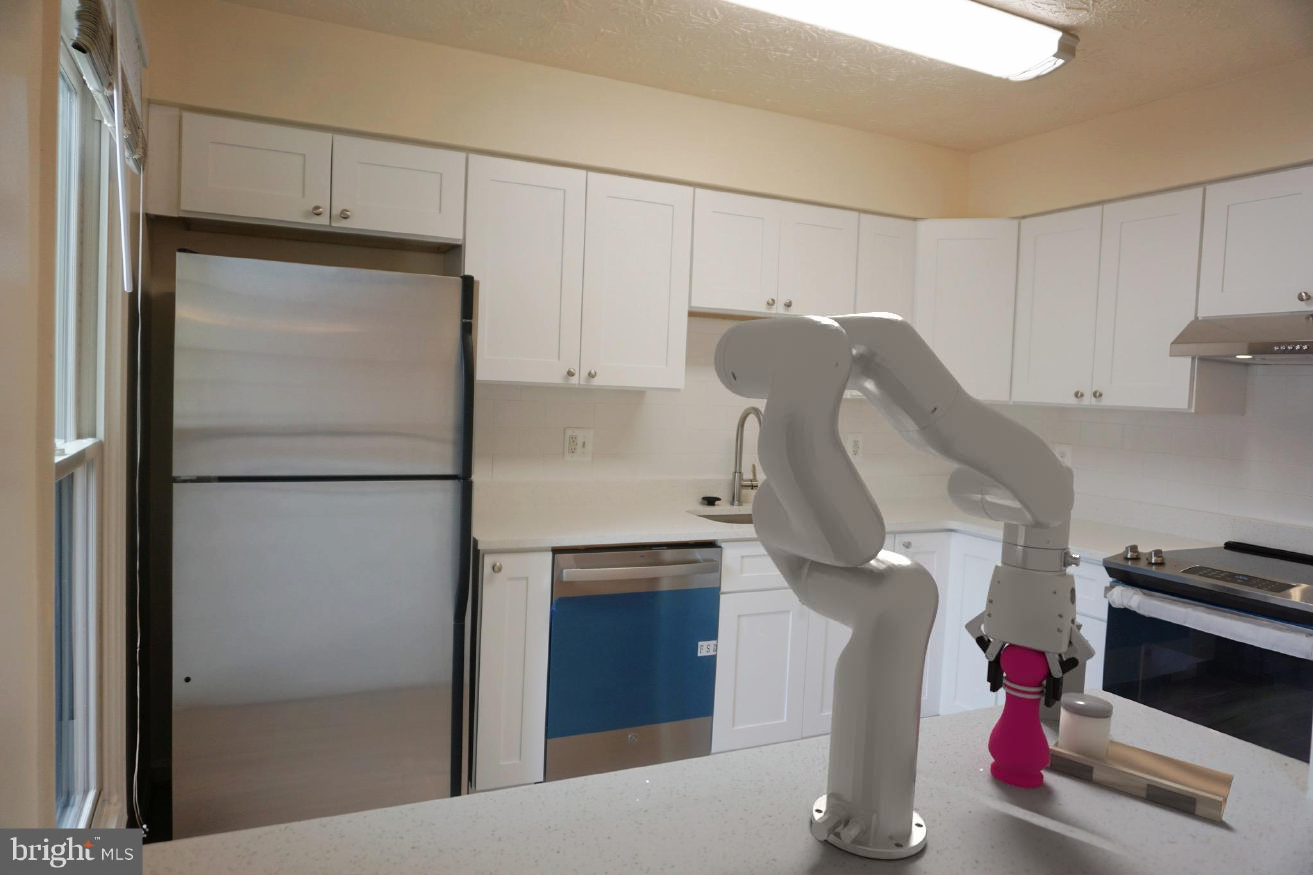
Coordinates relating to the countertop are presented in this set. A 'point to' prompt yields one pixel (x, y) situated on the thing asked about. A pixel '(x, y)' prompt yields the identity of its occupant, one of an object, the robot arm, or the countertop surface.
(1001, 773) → the pepper mill
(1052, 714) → the perfume bottle
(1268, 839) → the countertop surface
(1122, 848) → the countertop surface
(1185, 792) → the shelf
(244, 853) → the countertop surface
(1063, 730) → the jar
